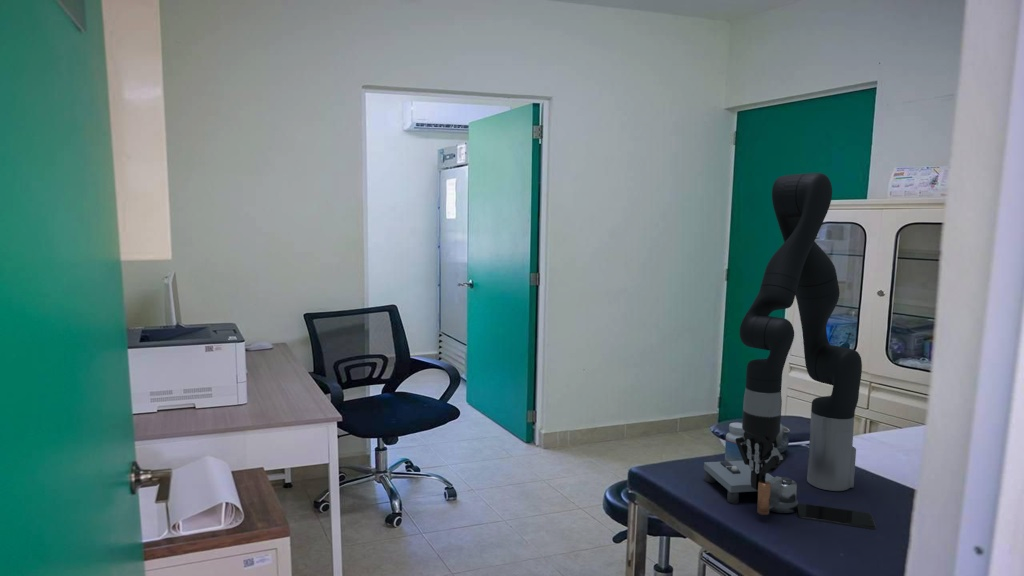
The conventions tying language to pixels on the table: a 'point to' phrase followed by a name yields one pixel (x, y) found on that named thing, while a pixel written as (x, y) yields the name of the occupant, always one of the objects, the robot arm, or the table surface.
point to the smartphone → (835, 516)
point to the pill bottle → (733, 442)
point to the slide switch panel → (731, 477)
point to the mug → (782, 439)
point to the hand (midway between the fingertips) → (757, 488)
